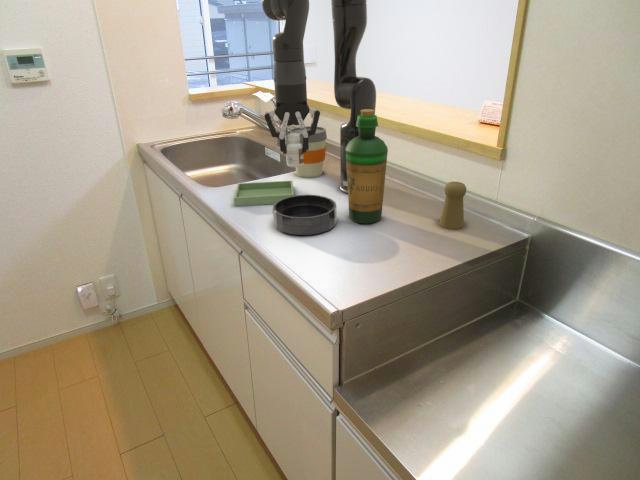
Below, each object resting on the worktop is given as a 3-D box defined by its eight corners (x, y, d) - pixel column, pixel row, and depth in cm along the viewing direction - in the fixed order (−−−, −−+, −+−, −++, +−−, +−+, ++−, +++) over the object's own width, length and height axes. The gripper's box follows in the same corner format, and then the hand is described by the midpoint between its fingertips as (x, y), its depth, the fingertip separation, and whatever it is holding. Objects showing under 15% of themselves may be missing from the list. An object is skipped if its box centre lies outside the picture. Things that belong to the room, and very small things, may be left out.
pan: (332, 210, 125) (332, 193, 123) (339, 234, 111) (339, 215, 109) (274, 213, 124) (273, 196, 122) (274, 238, 110) (272, 219, 108)
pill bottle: (304, 167, 113) (303, 136, 110) (287, 168, 113) (285, 137, 109) (303, 162, 117) (301, 132, 114) (286, 163, 117) (284, 133, 113)
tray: (292, 188, 143) (292, 180, 142) (294, 202, 131) (293, 194, 130) (238, 190, 142) (237, 183, 141) (234, 206, 130) (233, 198, 129)
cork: (464, 220, 116) (469, 180, 111) (463, 230, 111) (468, 188, 106) (440, 218, 118) (444, 178, 113) (438, 227, 113) (442, 186, 108)
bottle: (339, 223, 117) (339, 113, 105) (351, 209, 126) (352, 105, 114) (380, 228, 113) (384, 115, 101) (389, 213, 122) (394, 107, 110)
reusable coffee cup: (318, 166, 164) (317, 124, 157) (333, 175, 153) (332, 131, 147) (286, 171, 159) (283, 128, 153) (299, 181, 149) (297, 136, 142)
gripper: (318, 78, 110) (321, 147, 117) (260, 80, 109) (266, 150, 116) (321, 81, 103) (324, 154, 111) (259, 84, 102) (266, 158, 110)
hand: (294, 152), depth 113 cm, fingers closed on pill bottle, 4 cm apart
